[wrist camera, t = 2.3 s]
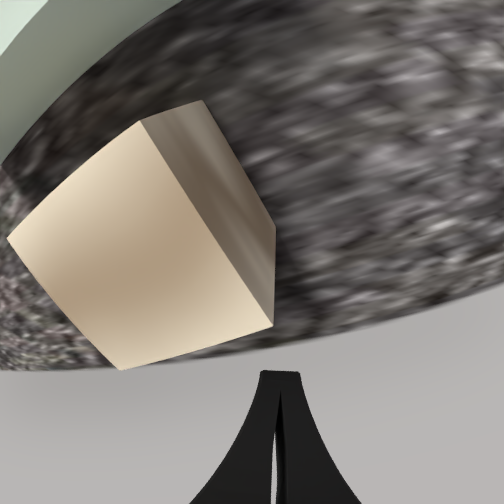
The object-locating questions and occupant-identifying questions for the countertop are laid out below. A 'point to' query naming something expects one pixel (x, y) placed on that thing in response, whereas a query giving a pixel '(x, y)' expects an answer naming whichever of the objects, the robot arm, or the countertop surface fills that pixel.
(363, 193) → the countertop surface
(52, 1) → the sage board
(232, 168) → the maple block
